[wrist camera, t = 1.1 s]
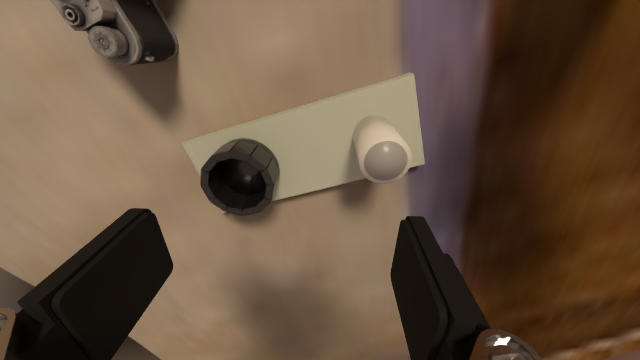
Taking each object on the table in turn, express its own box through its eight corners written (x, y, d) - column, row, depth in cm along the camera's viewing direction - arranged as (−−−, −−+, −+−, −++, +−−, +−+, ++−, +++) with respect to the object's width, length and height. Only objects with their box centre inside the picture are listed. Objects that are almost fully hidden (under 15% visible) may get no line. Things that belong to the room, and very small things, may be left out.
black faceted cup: (265, 130, 28) (256, 142, 25) (288, 188, 32) (283, 206, 28) (204, 148, 29) (186, 162, 26) (232, 202, 33) (221, 221, 29)
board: (409, 72, 26) (414, 74, 25) (420, 158, 31) (424, 164, 29) (188, 139, 31) (181, 143, 29) (225, 206, 35) (221, 213, 34)
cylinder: (390, 109, 27) (408, 130, 20) (396, 148, 29) (415, 177, 22) (348, 121, 27) (354, 144, 21) (357, 158, 29) (365, 189, 23)
